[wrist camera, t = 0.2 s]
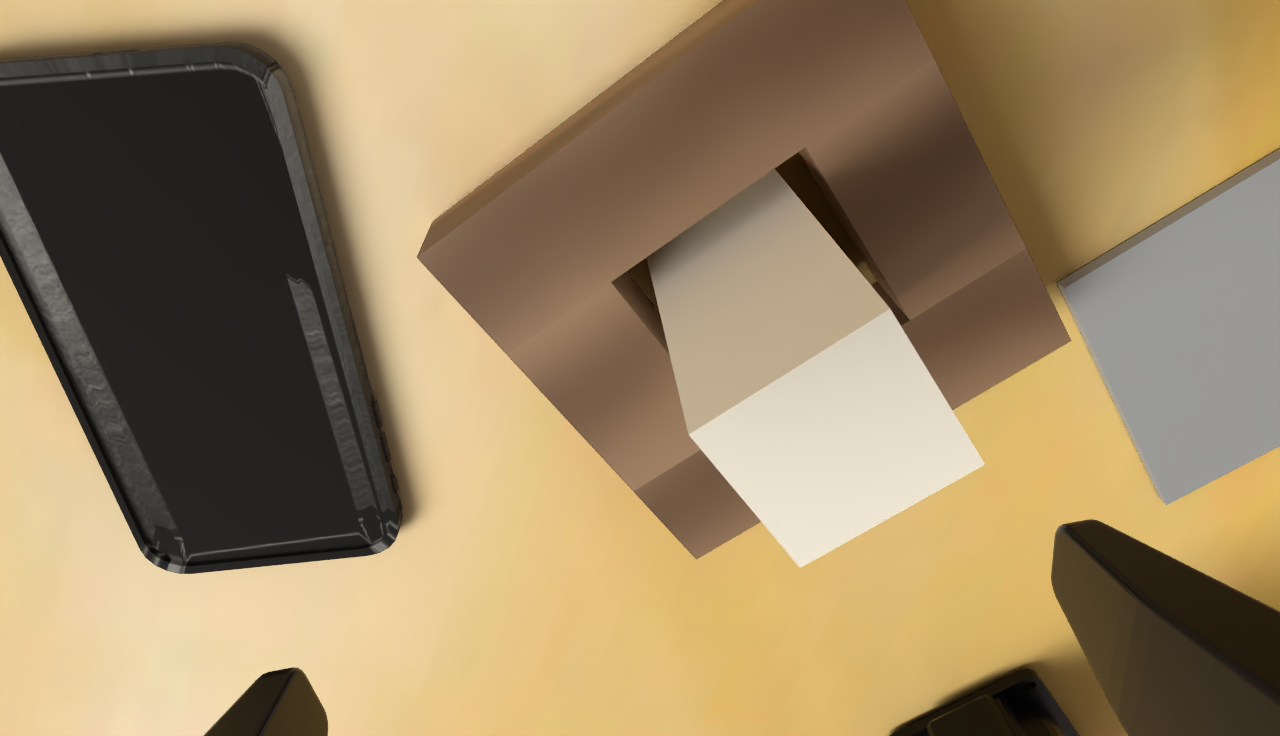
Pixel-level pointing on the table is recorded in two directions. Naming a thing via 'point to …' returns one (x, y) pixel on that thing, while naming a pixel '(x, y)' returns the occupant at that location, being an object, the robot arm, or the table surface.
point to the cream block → (800, 374)
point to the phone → (194, 303)
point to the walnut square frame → (706, 179)
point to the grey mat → (1192, 331)
